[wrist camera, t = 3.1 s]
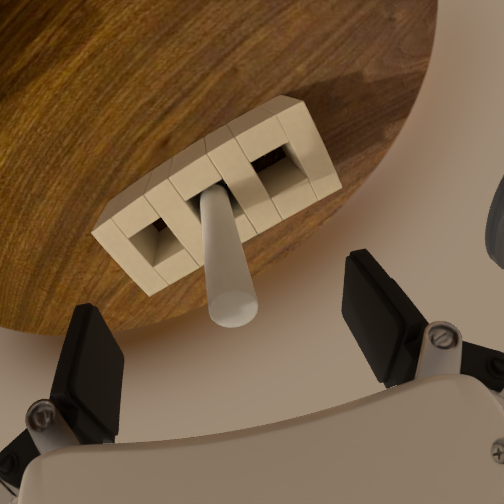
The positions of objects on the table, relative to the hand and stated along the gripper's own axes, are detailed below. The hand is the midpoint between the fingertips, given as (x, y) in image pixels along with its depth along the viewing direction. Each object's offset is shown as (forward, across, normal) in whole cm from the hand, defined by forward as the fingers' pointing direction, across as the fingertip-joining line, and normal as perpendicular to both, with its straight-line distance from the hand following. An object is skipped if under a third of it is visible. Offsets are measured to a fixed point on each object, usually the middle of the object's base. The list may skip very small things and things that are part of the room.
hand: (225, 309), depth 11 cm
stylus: (+14, 0, 0) cm, 14 cm away
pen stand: (+14, 0, 0) cm, 14 cm away
